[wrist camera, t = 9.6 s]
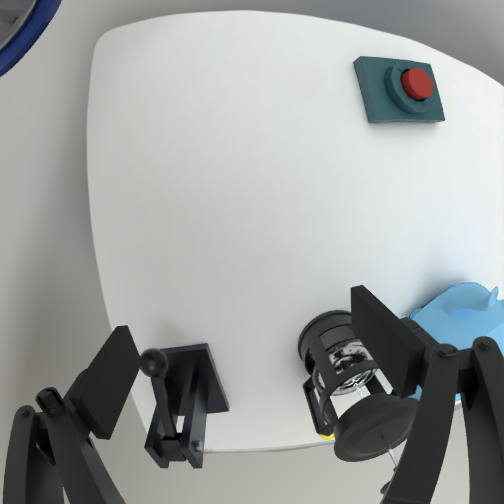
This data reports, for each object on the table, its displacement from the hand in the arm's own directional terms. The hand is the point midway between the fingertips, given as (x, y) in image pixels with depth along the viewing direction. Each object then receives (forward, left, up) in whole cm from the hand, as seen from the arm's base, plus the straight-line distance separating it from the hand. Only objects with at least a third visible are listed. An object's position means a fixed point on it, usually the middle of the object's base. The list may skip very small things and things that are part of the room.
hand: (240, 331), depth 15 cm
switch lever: (+13, -11, -9) cm, 19 cm away
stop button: (-16, +23, -13) cm, 31 cm away
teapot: (+16, +27, -17) cm, 36 cm away
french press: (+15, +9, -17) cm, 24 cm away
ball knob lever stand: (+17, -11, -17) cm, 26 cm away
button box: (-16, +23, -17) cm, 33 cm away
